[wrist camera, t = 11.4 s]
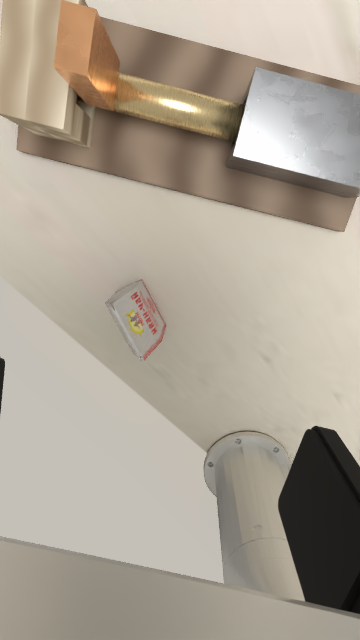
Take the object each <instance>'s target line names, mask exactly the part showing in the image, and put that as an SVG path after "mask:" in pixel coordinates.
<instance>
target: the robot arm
mask: <svg viewBox="0 0 360 640" xmlns="http://www.w3.org/2000/svg"><path fill="white" fill-rule="evenodd" d="M4 368H5V361H4V359H2V358H0V412H1V401H2V389H3V380H4ZM204 477H205V482H206V484H207V486H208V488H209V489H210V491H211V492H212V493H213V494H214V495H215V496H216V497H217V505H218V516H219V528H220V540H221V551H222V562H223V576H224V584H223V583H218V582H213V581H209V580H205V579H200V578H195V577H190V576H186V575H181V574H177V573H172V572H167V571H162V570H158V569H153V568H149V567H144V566H139V565H134V564H130V563H125V562H121V561H116V560H110V559H106V558H102V557H97V556H92V555H87V554H83V553H78V552H73V551H69V550H64V549H59V548H54V547H49V546H44V545H40V544H35V543H29V542H24V541H20V540H15V539H11V538H6V537H0V640H360V466H359V465H358V463H357V462H356V460H355V459H354V458H353V456H352V455H351V453H350V452H349V450H348V449H347V447H346V446H345V444H344V443H343V441H342V440H341V438H340V437H339V435H338V434H337V432H336V431H335V430H331V429H327V428H323V427H318V426H314V427H313V428H312V429H311V430H310V429H308V430H307V431H306V432H305V434H304V436H303V439H302V441H301V444H300V446H299V449H298V451H297V454H296V456H295V459H294V461H293V464H292V466H291V464H290V460H289V457H288V455H287V453H286V451H285V450H284V448H283V447H282V446H281V445H280V444H279V443H278V442H277V441H276V440H274V439H273V438H271V437H269V436H267V435H265V434H262V433H257V432H238V433H234V434H231V435H228V436H226V437H224V438H222V439H221V440H219V441H218V442H216V443H215V444H214V445H213V447H212V448H211V449H210V450H209V452H208V453H207V456H206V458H205V462H204Z"/></svg>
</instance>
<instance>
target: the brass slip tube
mask: <svg viewBox="0 0 360 640" xmlns="http://www.w3.org/2000/svg"><path fill="white" fill-rule="evenodd" d="M119 68H120V60H119V58H118V56H117V54H116V52H115V49H114V47H113V45H112V43H111V41H110V38H109V36H108V34H107V32H106V30H105V27H104V25H103V23H102V21H101V19H100V17H99V14H98V12H97V10H96V9H94V8H90V7H87V6H83V5H79V4H75V3H72V2H68V1H64V0H61V5H60V14H59V23H58V32H57V42H56V51H55V60H54V69H55V70H56V71H57V72H58V73H59V74H60V75H61V76H62V77H63V78H64V80H65V81H66V82H67V83H68V84H69V85H70V86H71V87H72V88H73V89H74V90H75V92H76V93H77V100H76V101H77V102H81V103H84V104H87V105H90V106H94V107H98V108H102V109H106V110H110V111H116V112H119V113H123V114H127V115H131V116H135V117H139V118H143V119H147V120H151V121H155V122H158V123H162V124H166V125H170V126H174V127H178V128H182V129H186V130H190V131H193V132H197V133H201V134H205V135H209V136H213V137H217V138H221V139H225V140H229V141H232V142H236V138H237V135H238V131H239V127H240V123H241V119H242V115H243V111H244V107H245V105H243V104H239V103H235V102H232V101H228V100H224V99H220V98H216V97H212V96H209V95H205V94H201V93H197V92H193V91H189V90H186V89H182V88H178V87H174V86H170V85H166V84H163V83H159V82H155V81H151V80H147V79H143V78H140V77H136V76H132V75H128V74H124V73H120V72H119Z"/></svg>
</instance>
